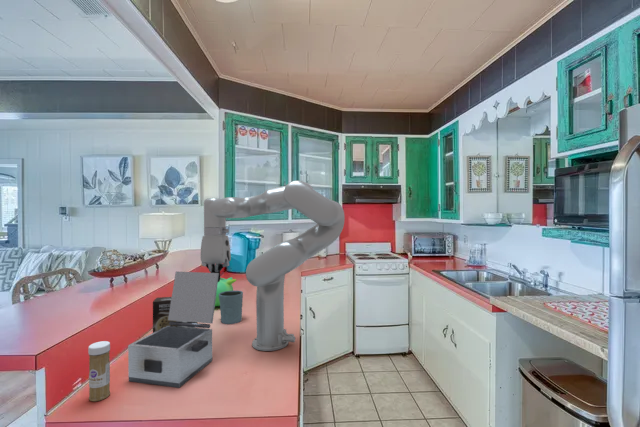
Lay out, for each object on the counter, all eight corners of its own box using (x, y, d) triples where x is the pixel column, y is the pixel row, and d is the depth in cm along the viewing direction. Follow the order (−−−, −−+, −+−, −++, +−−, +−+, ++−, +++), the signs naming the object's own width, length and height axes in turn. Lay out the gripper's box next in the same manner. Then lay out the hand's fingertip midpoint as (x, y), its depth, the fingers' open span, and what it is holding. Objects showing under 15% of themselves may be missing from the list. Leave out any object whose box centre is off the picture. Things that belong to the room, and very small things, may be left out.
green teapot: (198, 302, 168) (198, 274, 168) (232, 299, 175) (231, 271, 175) (202, 312, 151) (201, 281, 151) (238, 307, 158) (238, 277, 158)
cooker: (218, 361, 101) (217, 329, 101) (184, 389, 85) (184, 351, 85) (162, 355, 106) (162, 324, 106) (121, 381, 90) (121, 345, 90)
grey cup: (228, 326, 132) (228, 297, 132) (214, 321, 139) (213, 293, 139) (248, 319, 141) (247, 292, 140) (233, 315, 147) (233, 288, 147)
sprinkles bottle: (85, 403, 79) (84, 348, 79) (94, 393, 84) (93, 341, 84) (105, 401, 80) (105, 346, 80) (113, 391, 85) (113, 339, 85)
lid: (210, 328, 101) (212, 328, 102) (217, 272, 105) (219, 273, 107) (166, 325, 104) (170, 324, 106) (175, 271, 109) (178, 271, 110)
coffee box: (152, 348, 111) (151, 301, 111) (156, 341, 117) (155, 297, 117) (180, 345, 114) (180, 299, 114) (183, 338, 120) (182, 295, 120)
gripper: (238, 231, 120) (239, 281, 120) (202, 231, 124) (203, 279, 124) (228, 232, 113) (228, 285, 113) (190, 232, 116) (191, 283, 116)
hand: (215, 282), depth 118 cm, fingers closed
